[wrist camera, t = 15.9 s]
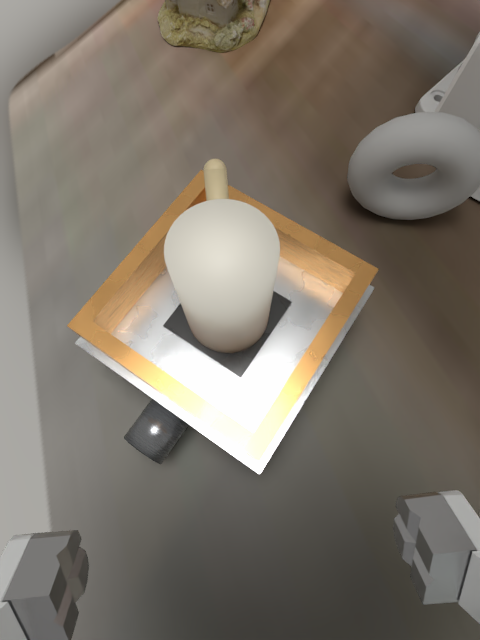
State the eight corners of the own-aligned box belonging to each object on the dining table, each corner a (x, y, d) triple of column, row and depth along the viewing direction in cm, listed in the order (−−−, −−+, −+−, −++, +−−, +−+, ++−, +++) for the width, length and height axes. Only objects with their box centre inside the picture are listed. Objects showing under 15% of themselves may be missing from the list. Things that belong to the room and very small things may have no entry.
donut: (448, 202, 36) (521, 110, 27) (448, 235, 35) (524, 151, 26) (337, 186, 37) (369, 90, 28) (333, 218, 36) (365, 130, 26)
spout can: (273, 349, 25) (287, 295, 17) (190, 356, 25) (165, 306, 17) (258, 230, 28) (264, 137, 20) (183, 236, 28) (160, 146, 20)
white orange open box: (209, 234, 35) (199, 161, 27) (351, 318, 33) (390, 267, 24) (79, 397, 31) (16, 371, 22) (232, 511, 28) (228, 531, 19)
